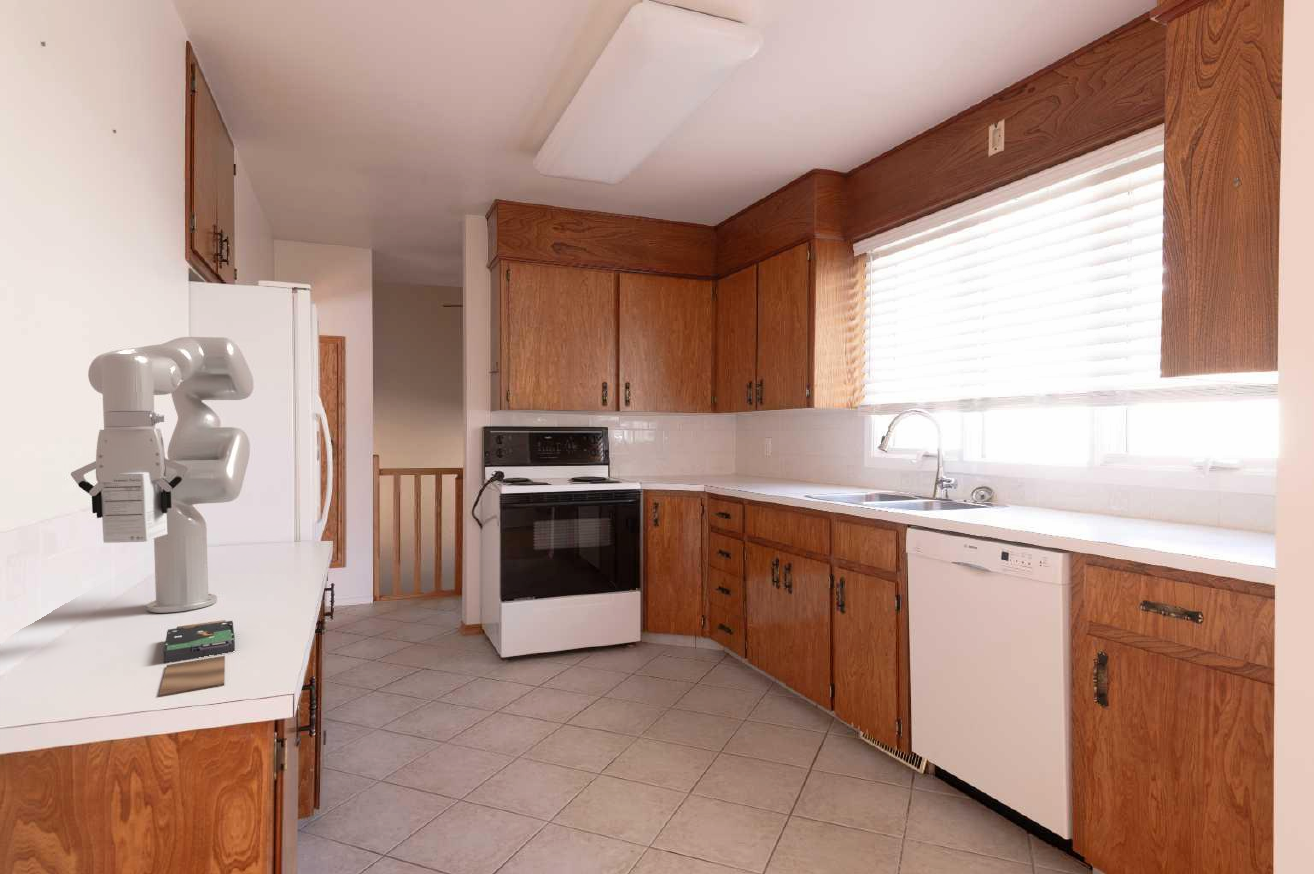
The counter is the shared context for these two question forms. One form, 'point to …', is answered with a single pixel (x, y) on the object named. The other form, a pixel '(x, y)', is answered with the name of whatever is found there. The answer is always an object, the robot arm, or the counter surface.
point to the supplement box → (132, 509)
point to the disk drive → (199, 641)
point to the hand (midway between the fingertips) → (133, 514)
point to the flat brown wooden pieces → (193, 673)
